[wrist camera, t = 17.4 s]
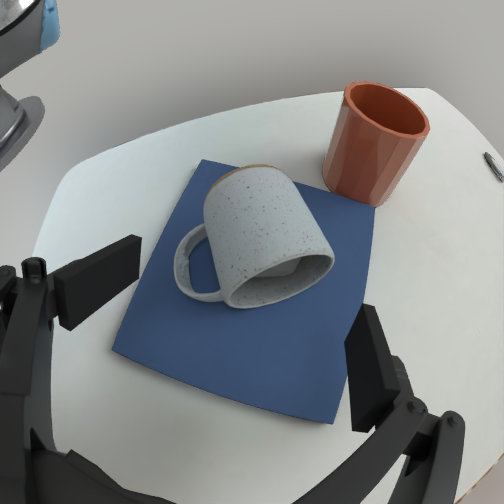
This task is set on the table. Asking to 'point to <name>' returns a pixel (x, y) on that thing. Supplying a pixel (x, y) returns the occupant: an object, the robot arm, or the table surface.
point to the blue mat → (252, 314)
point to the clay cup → (372, 142)
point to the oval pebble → (495, 166)
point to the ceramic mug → (256, 240)
